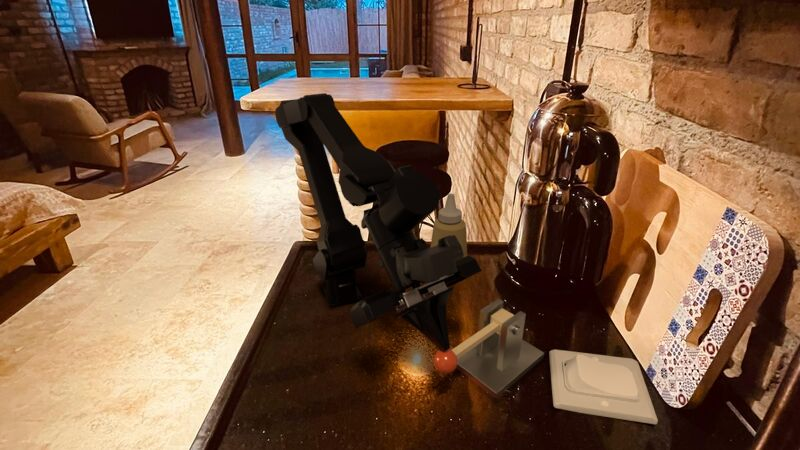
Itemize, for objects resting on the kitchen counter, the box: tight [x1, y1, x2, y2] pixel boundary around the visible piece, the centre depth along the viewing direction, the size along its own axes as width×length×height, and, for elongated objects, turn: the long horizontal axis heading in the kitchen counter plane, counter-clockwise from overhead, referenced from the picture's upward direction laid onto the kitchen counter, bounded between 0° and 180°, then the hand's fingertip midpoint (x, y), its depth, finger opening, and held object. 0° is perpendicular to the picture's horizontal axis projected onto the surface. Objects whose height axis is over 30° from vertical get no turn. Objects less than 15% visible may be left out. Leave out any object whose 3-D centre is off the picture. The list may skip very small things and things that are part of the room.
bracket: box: [455, 298, 545, 400], centre depth 62 cm, size 12×9×10 cm
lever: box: [432, 307, 515, 375], centre depth 57 cm, size 15×3×3 cm, turn 130°
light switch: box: [548, 349, 659, 425], centre depth 59 cm, size 11×4×13 cm
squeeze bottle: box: [430, 193, 468, 258], centre depth 84 cm, size 8×8×18 cm
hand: (445, 350), depth 53 cm, fingers closed, pressing on lever
